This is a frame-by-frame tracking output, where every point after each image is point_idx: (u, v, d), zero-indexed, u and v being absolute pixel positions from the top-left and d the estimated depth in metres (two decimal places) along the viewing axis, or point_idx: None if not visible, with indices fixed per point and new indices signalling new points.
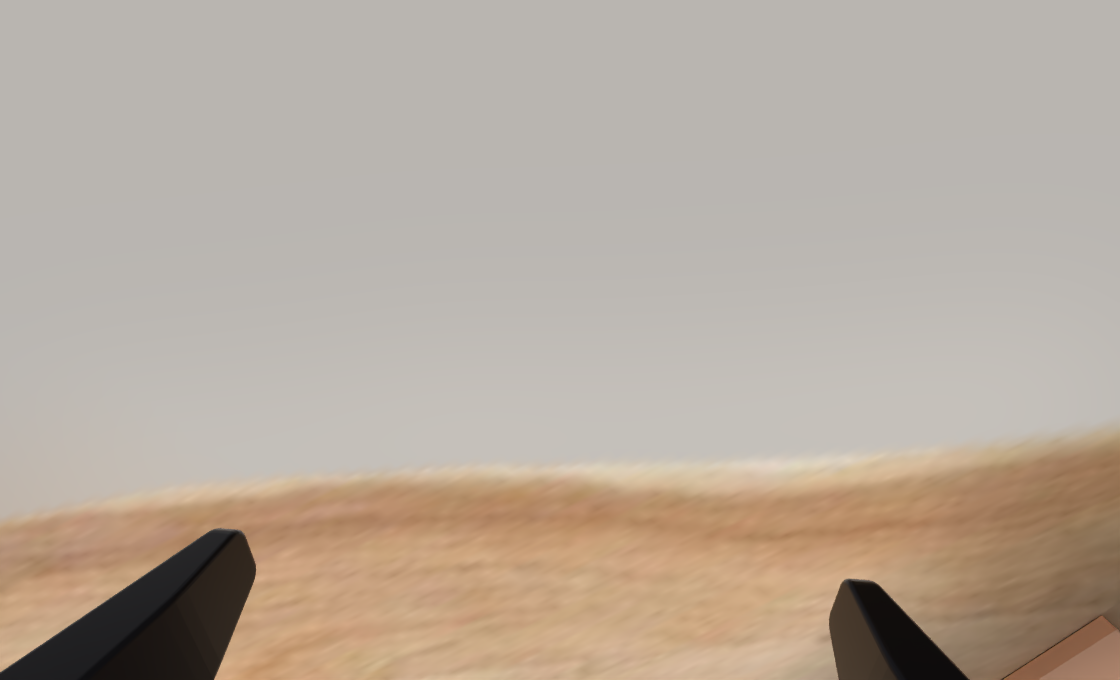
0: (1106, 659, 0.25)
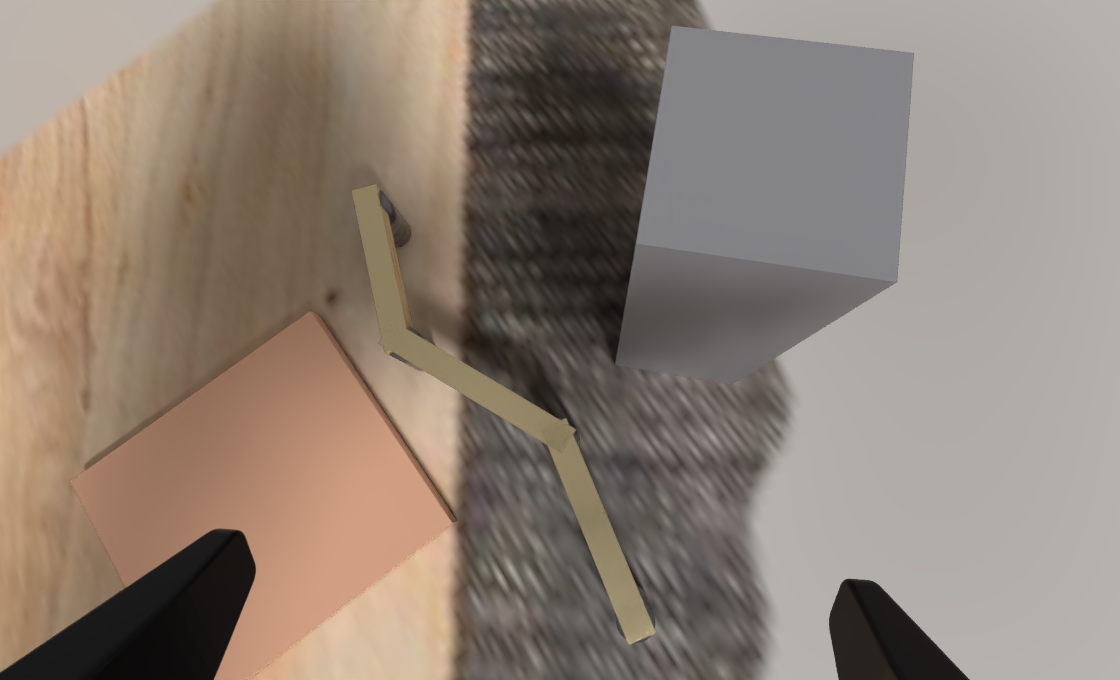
0: (105, 491, 0.23)
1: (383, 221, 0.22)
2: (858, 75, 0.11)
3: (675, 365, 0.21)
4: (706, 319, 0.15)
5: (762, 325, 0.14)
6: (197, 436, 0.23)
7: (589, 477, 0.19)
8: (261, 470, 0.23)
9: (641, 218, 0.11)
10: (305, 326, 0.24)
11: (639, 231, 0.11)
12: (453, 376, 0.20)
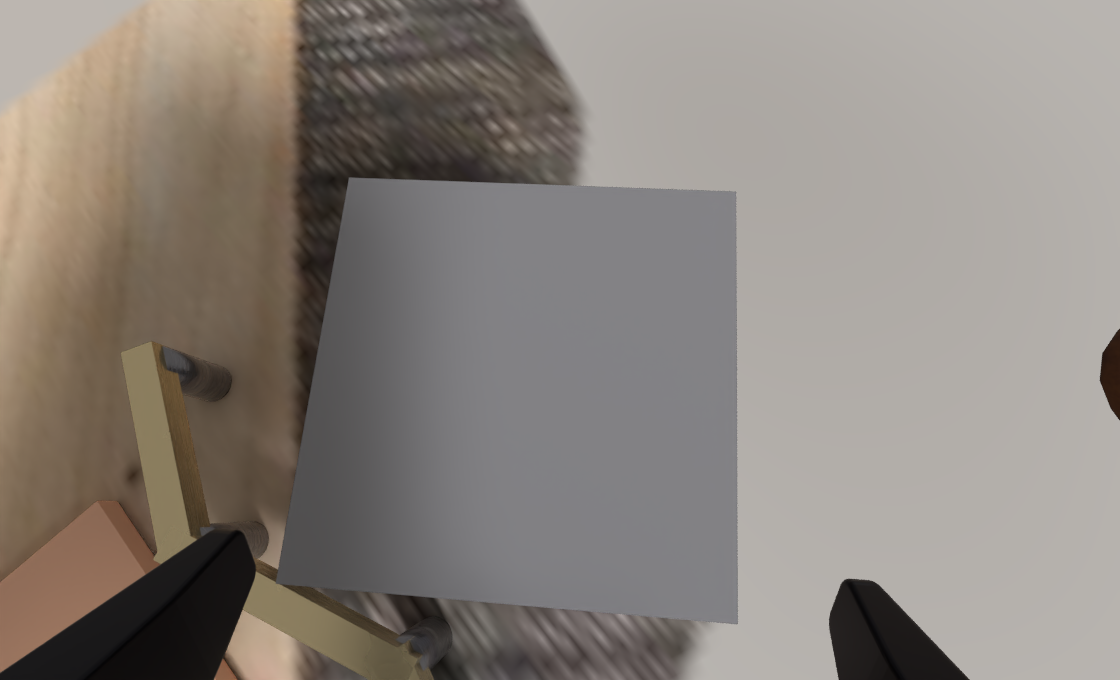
0: None
1: (161, 390, 0.17)
2: (649, 237, 0.07)
3: None
4: None
5: None
6: None
7: None
8: None
9: (288, 531, 0.06)
10: (90, 522, 0.18)
11: (282, 559, 0.06)
12: (252, 597, 0.15)
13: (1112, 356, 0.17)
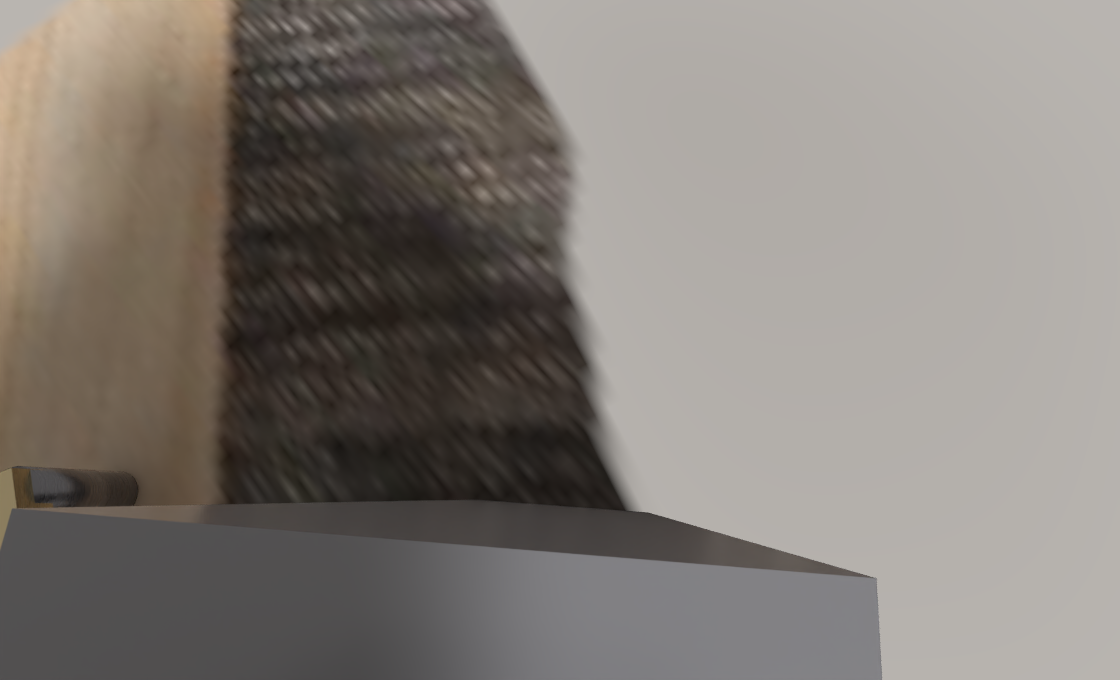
0: None
1: None
2: None
3: None
4: None
5: None
6: None
7: None
8: None
9: None
10: None
11: None
12: None
13: None
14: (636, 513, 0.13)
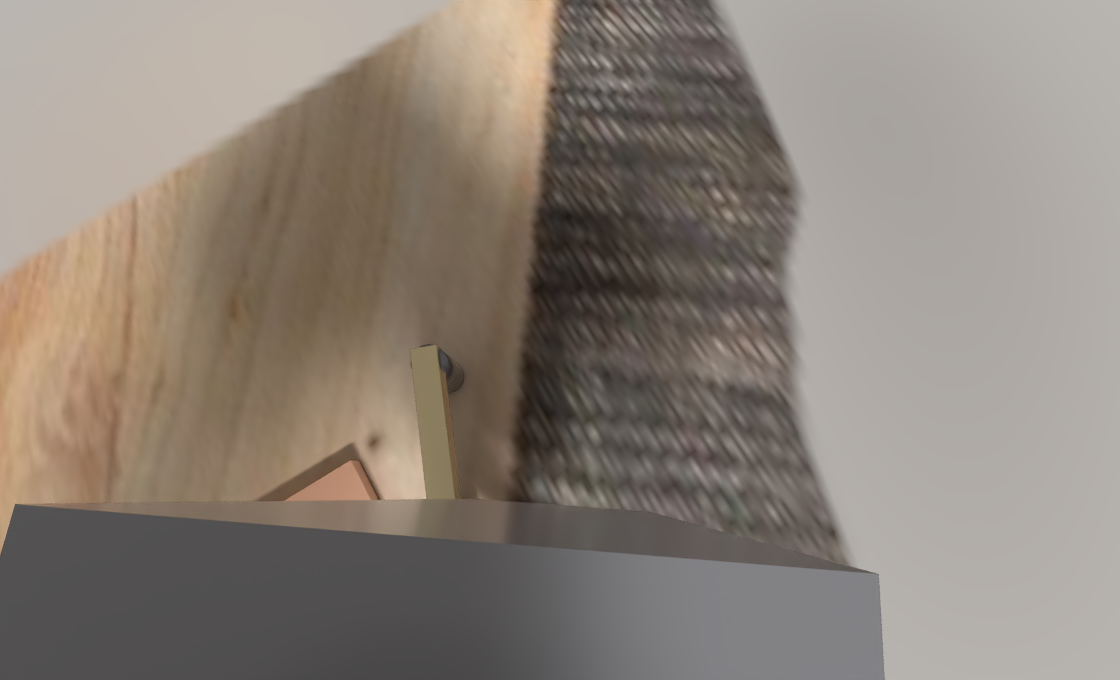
0: None
1: (441, 387, 0.20)
2: None
3: None
4: None
5: None
6: None
7: None
8: None
9: None
10: (344, 477, 0.22)
11: None
12: None
13: None
14: (637, 512, 0.13)
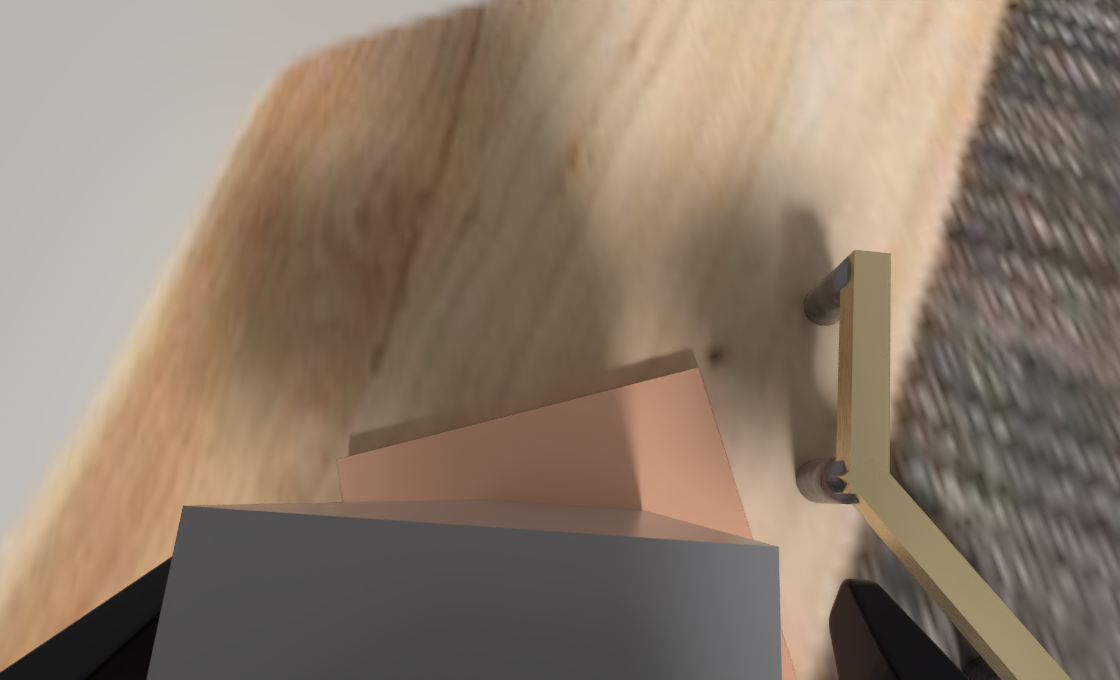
0: (375, 490, 0.17)
1: (889, 308, 0.15)
2: (644, 627, 0.04)
3: None
4: None
5: None
6: (509, 469, 0.17)
7: None
8: None
9: None
10: (686, 385, 0.18)
11: None
12: (943, 570, 0.14)
13: None
14: (630, 510, 0.15)
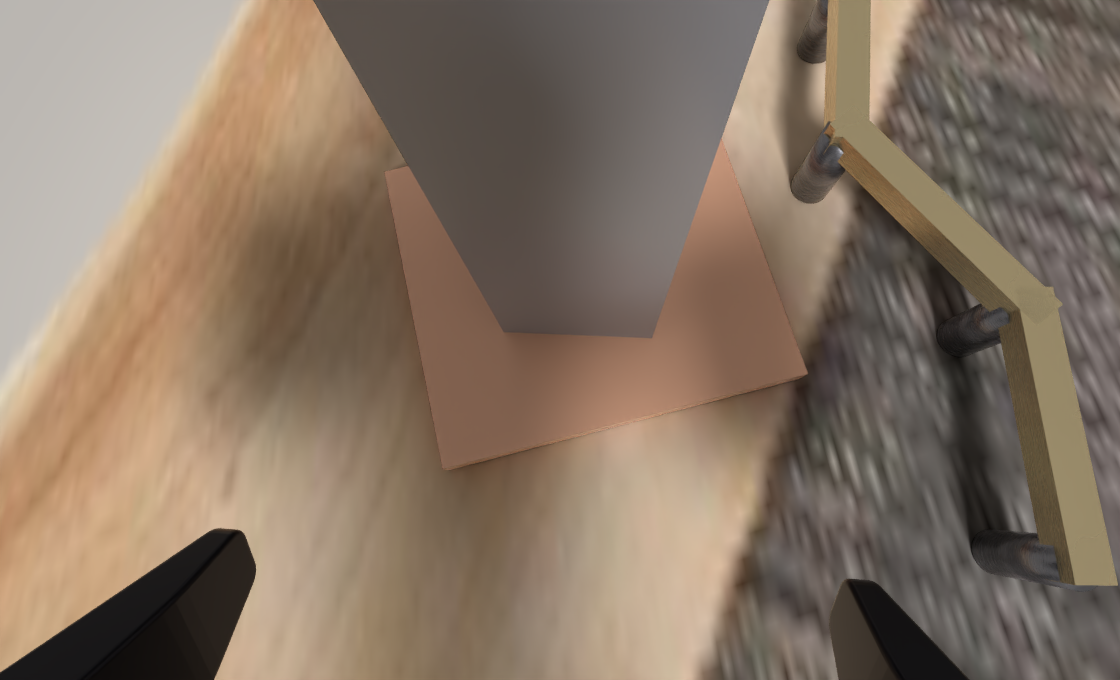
0: (419, 195, 0.20)
1: None
2: None
3: (568, 316, 0.16)
4: (545, 196, 0.10)
5: (623, 192, 0.10)
6: None
7: (1069, 365, 0.15)
8: None
9: None
10: None
11: None
12: (914, 190, 0.16)
13: None
14: None
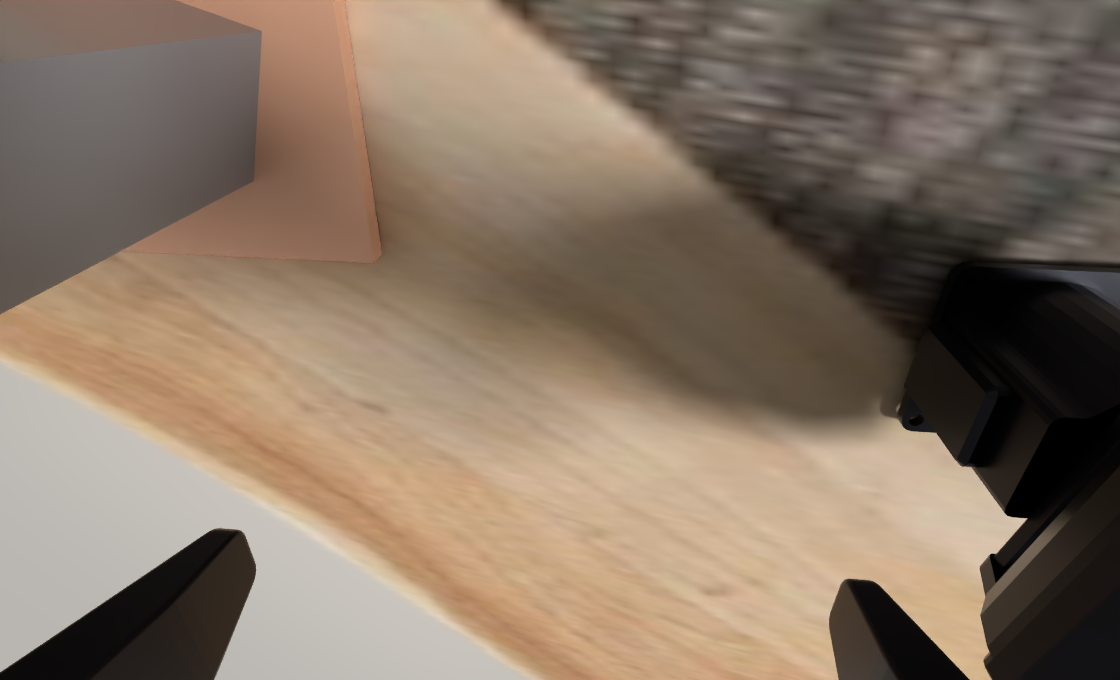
0: None
1: None
2: None
3: (219, 129, 0.16)
4: (0, 211, 0.11)
5: None
6: None
7: None
8: None
9: None
10: None
11: None
12: None
13: None
14: None
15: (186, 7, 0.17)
